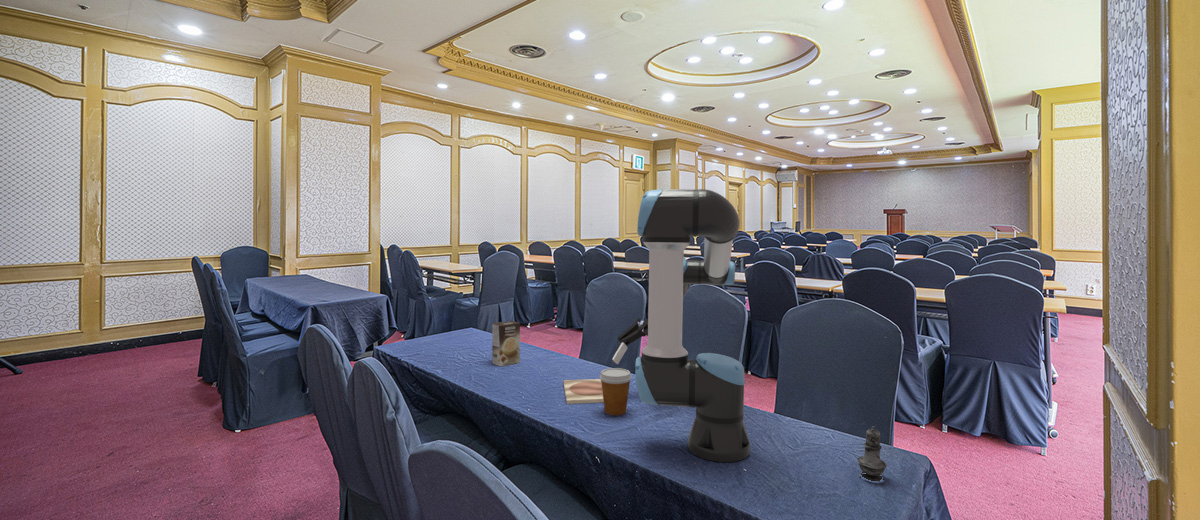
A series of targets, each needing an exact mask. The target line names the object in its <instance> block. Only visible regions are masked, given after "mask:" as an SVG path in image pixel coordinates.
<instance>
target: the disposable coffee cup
mask: <svg viewBox="0 0 1200 520" xmlns="http://www.w3.org/2000/svg"><path fill="white" fill-rule="evenodd" d="M599 379H601V383H602V391H603V400H604V403H603V406H604V413H605V414H607V415H610V416H621V415H625V414H626V412H627V406H628V399H629V391H630V385H631V383H630V382H631V379H632V374H631V371H630V370H628V369H625V368H621V367H612V368H605V369H603V370H601V371H600V375H599Z"/></svg>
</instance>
